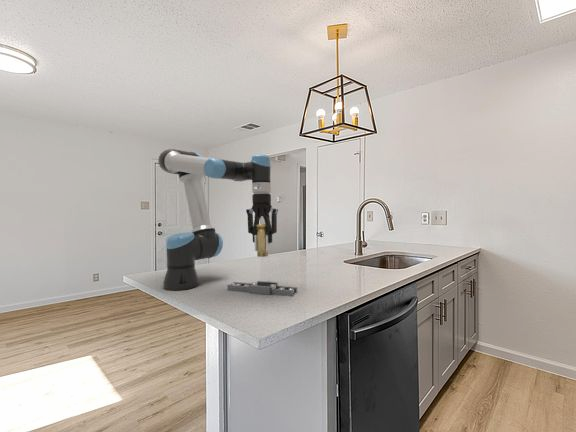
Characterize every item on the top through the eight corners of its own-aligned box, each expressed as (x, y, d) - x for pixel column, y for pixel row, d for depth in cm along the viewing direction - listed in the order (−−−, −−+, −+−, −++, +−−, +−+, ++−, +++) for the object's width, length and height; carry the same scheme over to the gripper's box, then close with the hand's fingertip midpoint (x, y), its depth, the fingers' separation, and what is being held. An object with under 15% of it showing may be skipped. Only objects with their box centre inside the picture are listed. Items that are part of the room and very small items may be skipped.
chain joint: (225, 290, 127) (225, 283, 127) (235, 285, 135) (235, 279, 135) (291, 297, 118) (291, 289, 117) (298, 291, 125) (298, 284, 125)
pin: (254, 256, 124) (253, 224, 123) (259, 254, 128) (259, 223, 128) (265, 257, 122) (264, 224, 122) (270, 255, 127) (270, 223, 126)
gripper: (238, 193, 124) (239, 251, 125) (277, 192, 118) (278, 252, 119) (247, 194, 131) (248, 248, 132) (284, 193, 125) (285, 250, 126)
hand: (262, 250), depth 125 cm, fingers closed on pin, 4 cm apart
